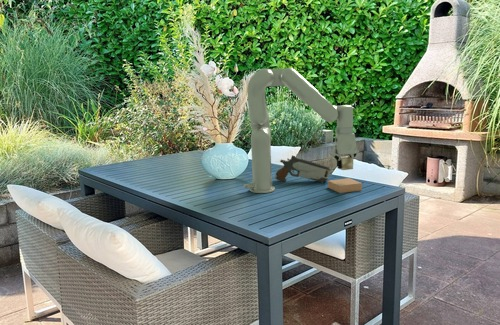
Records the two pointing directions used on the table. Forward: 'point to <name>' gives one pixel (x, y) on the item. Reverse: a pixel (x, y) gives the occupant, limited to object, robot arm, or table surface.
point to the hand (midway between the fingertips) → (345, 167)
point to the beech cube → (346, 163)
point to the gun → (303, 170)
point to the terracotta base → (344, 185)
